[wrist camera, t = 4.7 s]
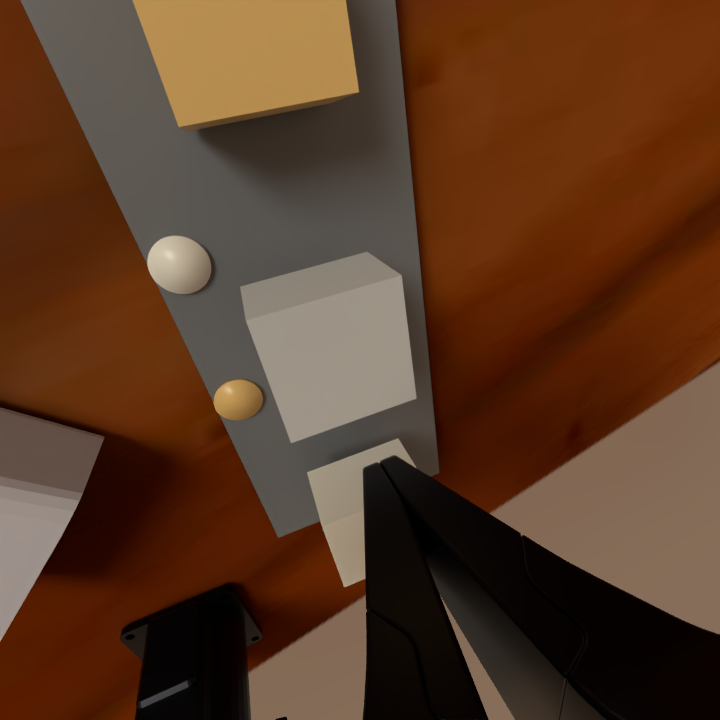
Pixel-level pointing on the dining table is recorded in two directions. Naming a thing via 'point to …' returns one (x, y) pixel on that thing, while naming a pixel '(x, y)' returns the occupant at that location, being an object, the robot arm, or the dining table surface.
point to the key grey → (332, 342)
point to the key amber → (248, 56)
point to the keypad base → (254, 220)
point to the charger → (36, 497)
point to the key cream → (348, 506)
